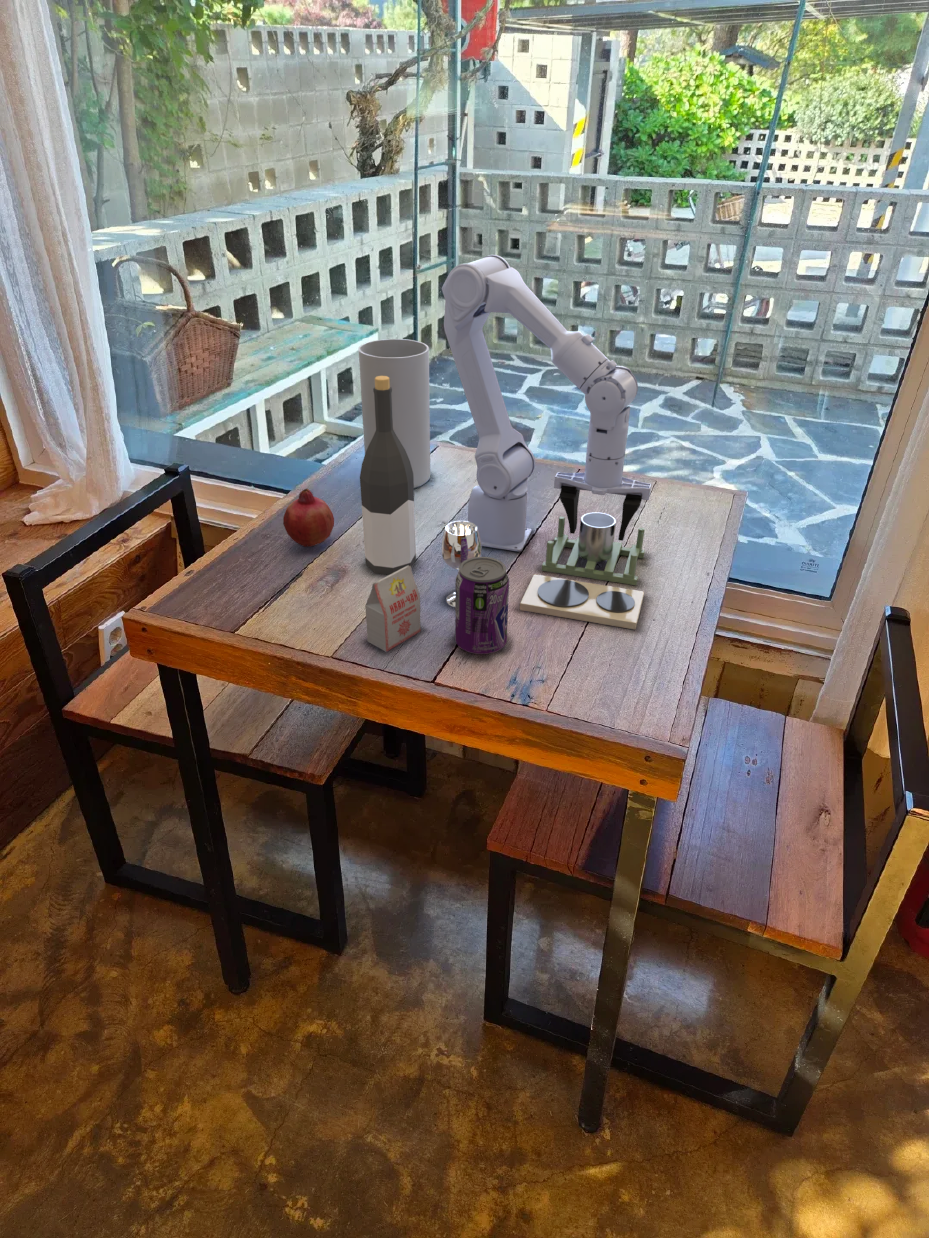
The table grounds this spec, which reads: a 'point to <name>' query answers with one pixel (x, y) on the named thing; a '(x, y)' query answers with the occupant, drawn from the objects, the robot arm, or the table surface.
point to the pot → (596, 536)
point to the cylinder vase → (400, 396)
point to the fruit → (308, 520)
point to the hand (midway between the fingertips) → (597, 534)
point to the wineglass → (460, 546)
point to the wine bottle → (387, 493)
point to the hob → (583, 601)
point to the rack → (589, 571)
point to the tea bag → (393, 610)
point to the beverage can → (481, 605)
